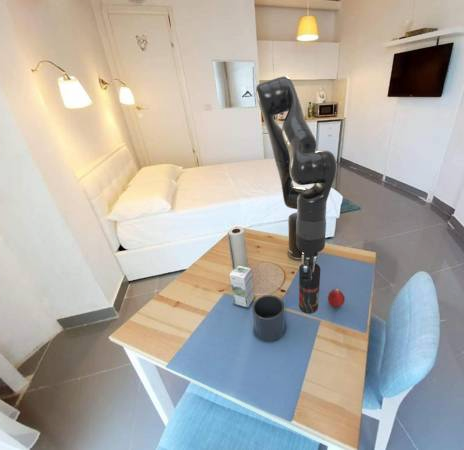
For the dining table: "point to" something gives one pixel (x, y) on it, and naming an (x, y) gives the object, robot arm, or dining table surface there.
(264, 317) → the dark grey cup
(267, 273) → the dining table surface
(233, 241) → the paper towel roll
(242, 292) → the syrup box
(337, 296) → the onion
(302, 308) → the deodorant
